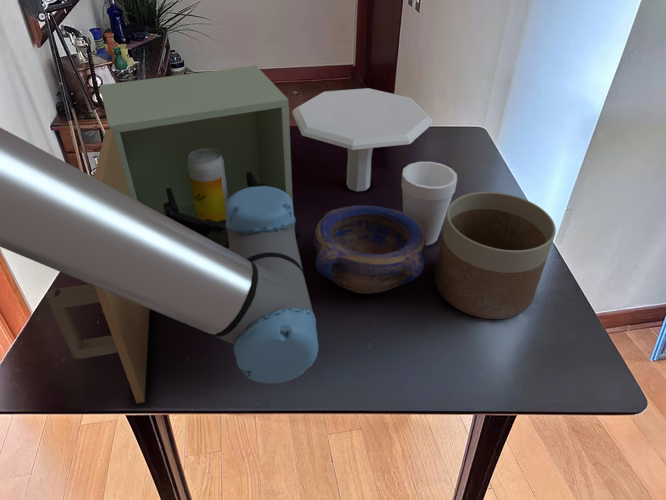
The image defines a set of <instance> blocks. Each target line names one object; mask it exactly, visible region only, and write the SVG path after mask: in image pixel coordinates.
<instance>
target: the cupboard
mask: <svg viewBox="0 0 666 500" xmlns="http://www.w3.org/2000/svg"><path fill="white" fill-rule="evenodd" d="M99 91H100V94H101V98H102V104H103V107H104V112H105V116H106V121H107V125H108V129H113V131H114V135H115V138H116V142H117V146H118V150H119V153H120V157H121V161H122V165H123V168H124V172H125V176H126V180H127V184H128V187H129V191H130V195H131V198H133V199H135V200H137V201H139V202H141V203H142V204H144V205H146V206H148V207H150V208H152V209H154V210H156V211H157V212H159V213H161V214H163V215H165V211H164V206H163V205H164V203H169V201H168V197H167V192H166V188H171V191H172V193H173V196H174V199H175V201H176V204H177V207H178V210H179V213H182V214H185V215H189V216H192V217H195V218H197V217H196V211H195V206H194V200H193V195H192V189H191V184H190V178H189V173H188V167H187V160H188V155H189V154H190V153H191V152H193V151H195V150H198V149H203V148H211V149H215V150H217V151H219V152H220V155H221V156H222V158H223V160H224V168H225V175H226V183H227V191H228V198H230V197H231V196H232V195H233V194H235V193H236V192H238V191H240V190H242V189H245V188H248V185H247V175H246V173H248V172H251V174H252V175H253V177H254V178H255V180H256V181H257V183H258V184H261V183H262V184H264V185H265V186H269V187H274V188H277V189H280V190H282V191H284V192H285V193H286V194H288V195H289V197H290V198H291V200H292V203H293V204H294V201H293V179H292V175H293V174H292V155H291V154H292V153H291V129H290V107H289V98H288V97H287V96H286V95H285V94H284V93H283V92H282V91H281V90H280V89H279V88H278V87H277V86H276V85H275V84H274V82H272V80H271V79H270V78H269V77H268V76H267V75H266V74H265V73H264V72H263V71H262V70H261V68H259V67H258V66H257V65H251V66H243V67H234V68H226V69H218V70H210V71H202V72H194V73H185V74H178V75H177V74H176V75H170V76H163V77H154V78H145V79H138V80H137V79H136V80H129V81H122V82H113V83H106V84H105V83H104V84H99Z"/></svg>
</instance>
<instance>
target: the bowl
mask: <svg viewBox="0 0 666 500" xmlns="http://www.w3.org/2000/svg"><path fill="white" fill-rule="evenodd" d="M312 240H313V247H314V250H315V253H316V258H315V269H316V271H317V272H318V274H320V275H321V276H323V277H325V278H327V279H328V280H330V281H331V282H333V284H336V285H337V286H339V287H341V288H343V289H345V290H346V291H349V292H352V293H356V294H366V295H367V294H368V295H369V294H379V293H384V292H387V291H389V290H392V289H394V288H395V289H396V288H397V287H400V286H402V285H405V284H407V283H409V282H411V281H413V280H415V279H417V278H418V277H419V276H420V275H421V274H422V272H423V271H424V269H425V264H426V263H425V259H424V257H423V256H424V254H425V251H426V246H427V245H426V240H425V236H424V232H423V230H422V228H421V227H420V225H419V224H418V223H417V222H416V221H415V220H413V219H412V218H411V217H409V216H408V215H406V214H404V213H403V211H400V210H397V209H393V208H388V207H382V206H377V205H365V204H363V205H350V206H344V207H339V208H334V209H331V210H329V211H327V212H325V214H323V216H321V219H320V220H319V221H318V223H317V224H316V226H315V229H314V234H313V237H312Z"/></svg>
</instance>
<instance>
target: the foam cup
mask: <svg viewBox="0 0 666 500" xmlns="http://www.w3.org/2000/svg"><path fill="white" fill-rule="evenodd" d="M400 183H401V185H400V186H401V188H402V189H401V191H402V212H403V213H404V214H406V215H408V216H409V217H411V218H412V219H413V220H415V221H416V222H417V223H418V224H419V225H420V227H421V228H422V230H423V232H424V236H425V240H426V245H425V246H430V245H433V244H435V243H436V242H437V241H438V239H439V236H440V234H441V231H442V227H443V226H444V223H445V217H446V212H447V209H448V207H449V205H450V204H451V202H452V198H453V196H454V194H455V193H456V188H457V183H458V174H457V172H456V171H454V169H453V168H451V167H449V166H447V165H445V164H444V163H439V162H435V161H417V162H413V163H408V164H407V165H406V166H405V167H403V168H402V174H401V182H400Z"/></svg>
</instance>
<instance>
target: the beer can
mask: <svg viewBox="0 0 666 500" xmlns="http://www.w3.org/2000/svg"><path fill="white" fill-rule="evenodd" d="M187 167H188V173H189V178H190V184H191V189H192V195H193V200H194V206H195V211H196V217H197V218H198V219H201V220H206V219H210V220H213V221H216V222H218V221H220V220H226V212H225V207H226V203H227V201H228V199H229V198H228V191H227V183H226V175H225V168H224V160H223V158H222V156H221V155H220V152H219V151H217V150H215V149H211V148H203V149H198V150H195V151H193V152H191V153H190V154H189V155H188V160H187ZM211 229H212V228H211Z"/></svg>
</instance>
